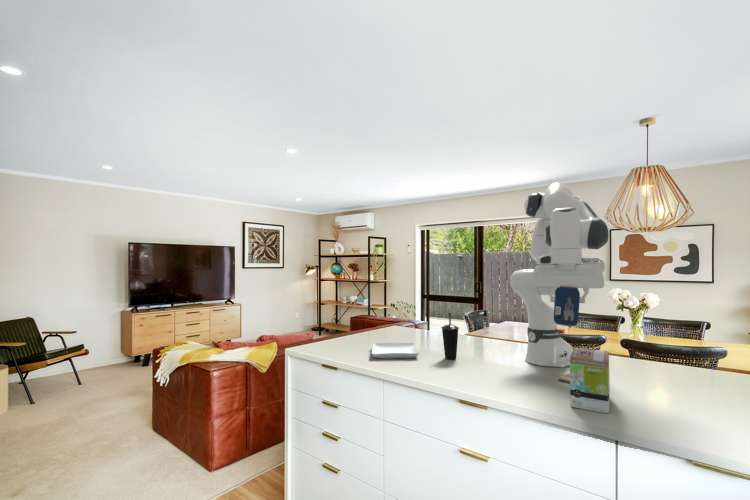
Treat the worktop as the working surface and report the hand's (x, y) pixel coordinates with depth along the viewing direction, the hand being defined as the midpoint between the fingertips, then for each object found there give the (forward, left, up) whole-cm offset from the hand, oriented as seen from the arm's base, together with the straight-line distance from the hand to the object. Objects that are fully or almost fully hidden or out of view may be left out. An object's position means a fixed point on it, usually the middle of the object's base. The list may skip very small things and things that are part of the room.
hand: (567, 302), depth 119 cm
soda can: (+1, 0, -7) cm, 7 cm away
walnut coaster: (-17, -11, -30) cm, 36 cm away
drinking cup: (+8, -56, -30) cm, 64 cm away
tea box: (-3, +5, -30) cm, 30 cm away
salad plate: (+26, -74, -30) cm, 84 cm away
